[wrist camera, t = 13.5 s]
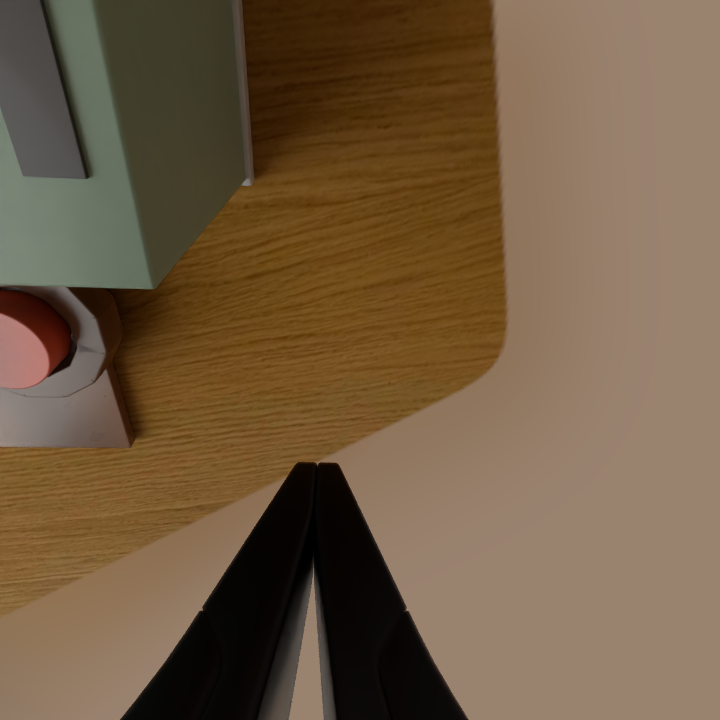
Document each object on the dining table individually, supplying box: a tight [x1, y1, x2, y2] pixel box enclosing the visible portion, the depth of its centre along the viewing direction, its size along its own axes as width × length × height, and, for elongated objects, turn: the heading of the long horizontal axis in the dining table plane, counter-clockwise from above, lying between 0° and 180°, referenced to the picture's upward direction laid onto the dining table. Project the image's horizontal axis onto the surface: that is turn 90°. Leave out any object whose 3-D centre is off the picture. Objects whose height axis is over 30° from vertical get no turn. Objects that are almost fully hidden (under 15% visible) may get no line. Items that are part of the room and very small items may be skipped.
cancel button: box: [0, 290, 72, 389], centre depth 18 cm, size 4×4×2 cm
